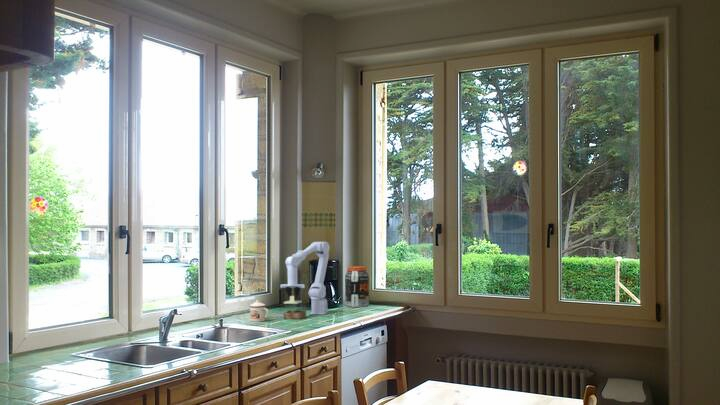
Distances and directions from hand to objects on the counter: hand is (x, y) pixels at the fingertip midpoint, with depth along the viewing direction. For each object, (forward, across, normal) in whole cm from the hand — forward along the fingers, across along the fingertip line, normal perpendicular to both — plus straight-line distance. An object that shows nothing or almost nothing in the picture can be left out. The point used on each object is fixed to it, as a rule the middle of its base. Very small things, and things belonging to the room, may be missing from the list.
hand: (292, 300), depth 385 cm
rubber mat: (+10, -11, +5) cm, 16 cm away
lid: (+2, 0, 0) cm, 2 cm away
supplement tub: (+11, +24, +56) cm, 62 cm away
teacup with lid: (+11, -15, -14) cm, 23 cm away
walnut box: (+10, +1, -1) cm, 11 cm away
